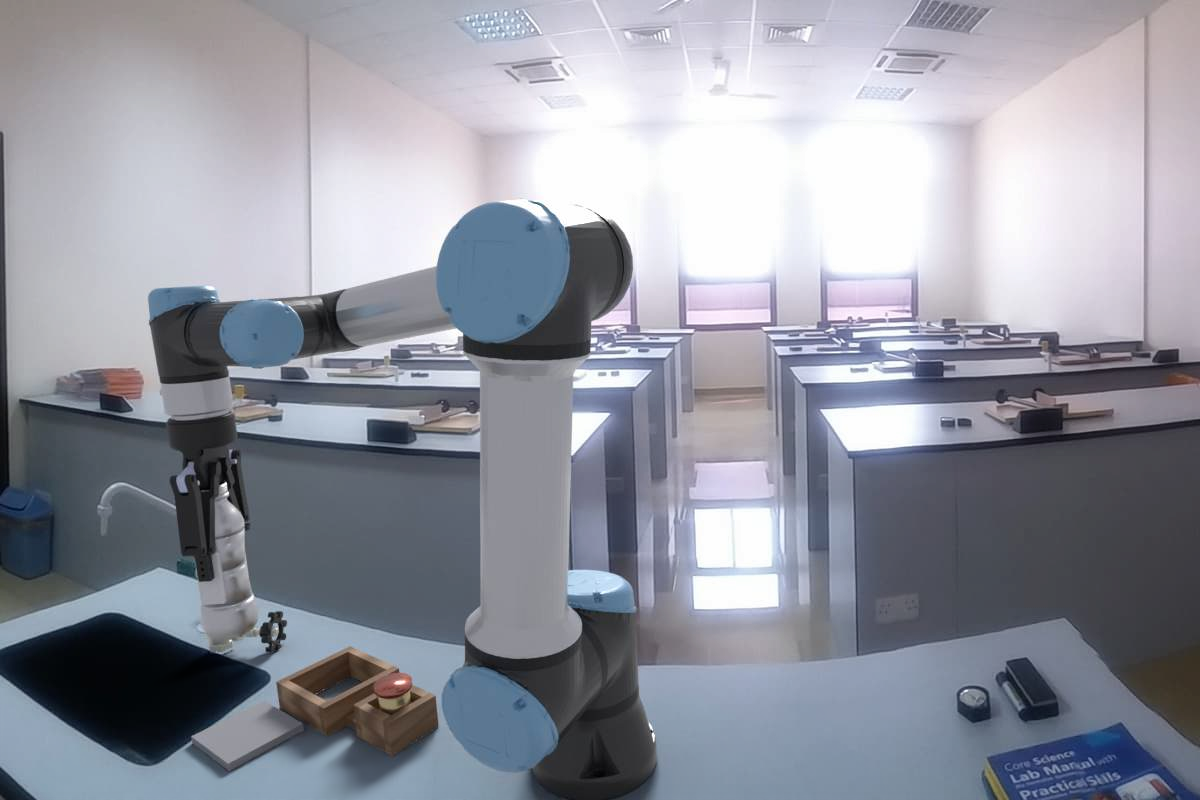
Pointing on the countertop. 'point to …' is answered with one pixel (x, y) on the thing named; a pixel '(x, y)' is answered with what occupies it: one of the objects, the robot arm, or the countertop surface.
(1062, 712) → the countertop surface
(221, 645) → the valve
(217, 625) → the plastic bottle
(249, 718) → the pad
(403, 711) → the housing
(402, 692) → the copper-capped cylinder
